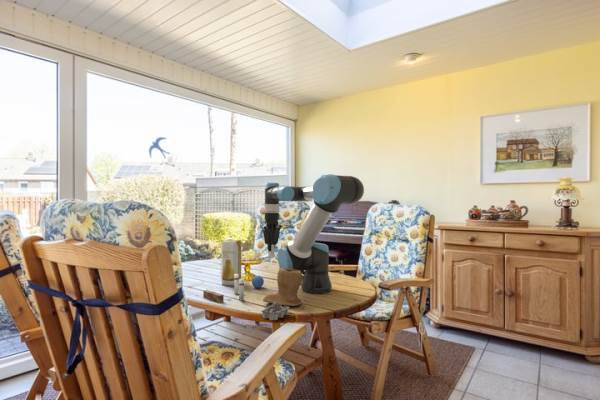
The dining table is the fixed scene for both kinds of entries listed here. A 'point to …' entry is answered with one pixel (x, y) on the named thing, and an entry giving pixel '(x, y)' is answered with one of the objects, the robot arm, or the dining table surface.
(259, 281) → the ball
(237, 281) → the white pin
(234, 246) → the juice carton
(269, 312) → the egg carton
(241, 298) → the white rounded rod
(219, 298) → the wall
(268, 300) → the brown boot
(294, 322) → the dining table surface
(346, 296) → the dining table surface
